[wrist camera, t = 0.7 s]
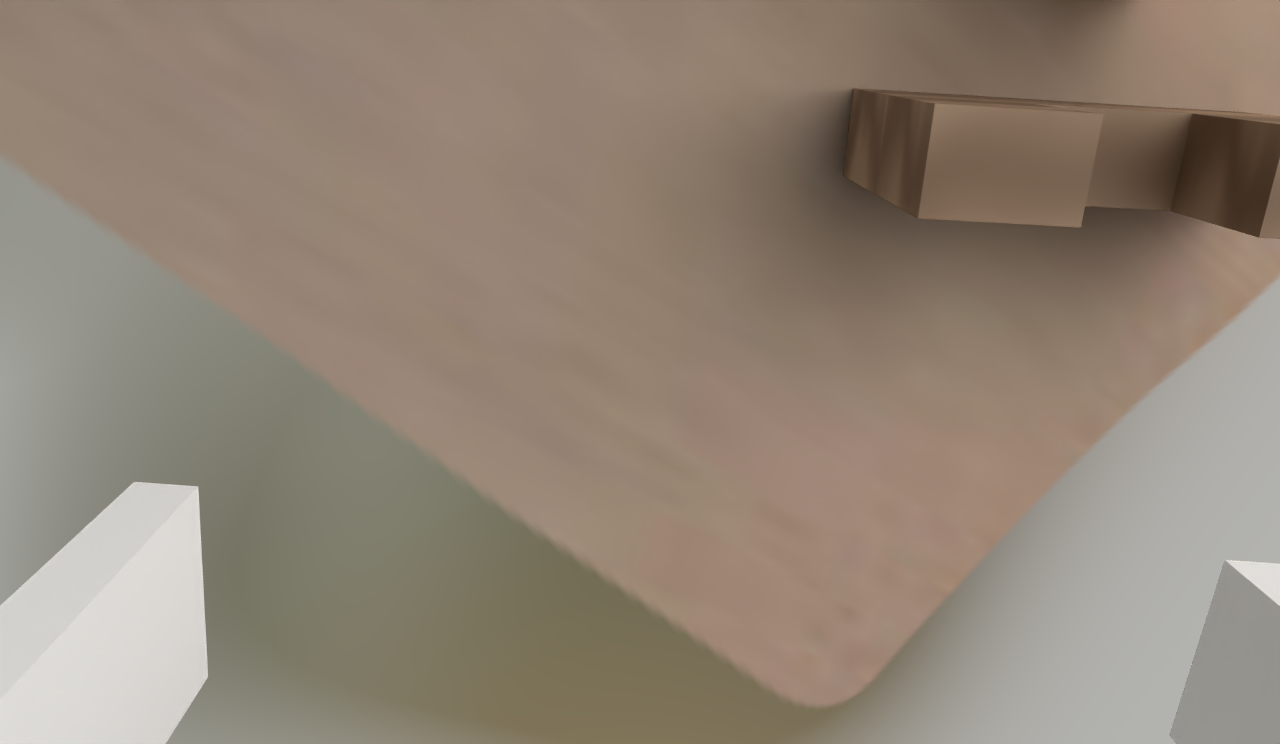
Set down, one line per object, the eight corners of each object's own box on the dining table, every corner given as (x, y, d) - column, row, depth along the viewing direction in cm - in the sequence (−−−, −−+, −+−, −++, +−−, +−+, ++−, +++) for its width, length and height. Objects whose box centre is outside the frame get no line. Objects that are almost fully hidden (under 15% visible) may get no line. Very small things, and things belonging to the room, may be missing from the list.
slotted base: (853, 88, 34) (934, 103, 26) (1245, 112, 35) (1451, 135, 26) (843, 175, 35) (917, 218, 27) (1224, 197, 36) (1416, 246, 27)
